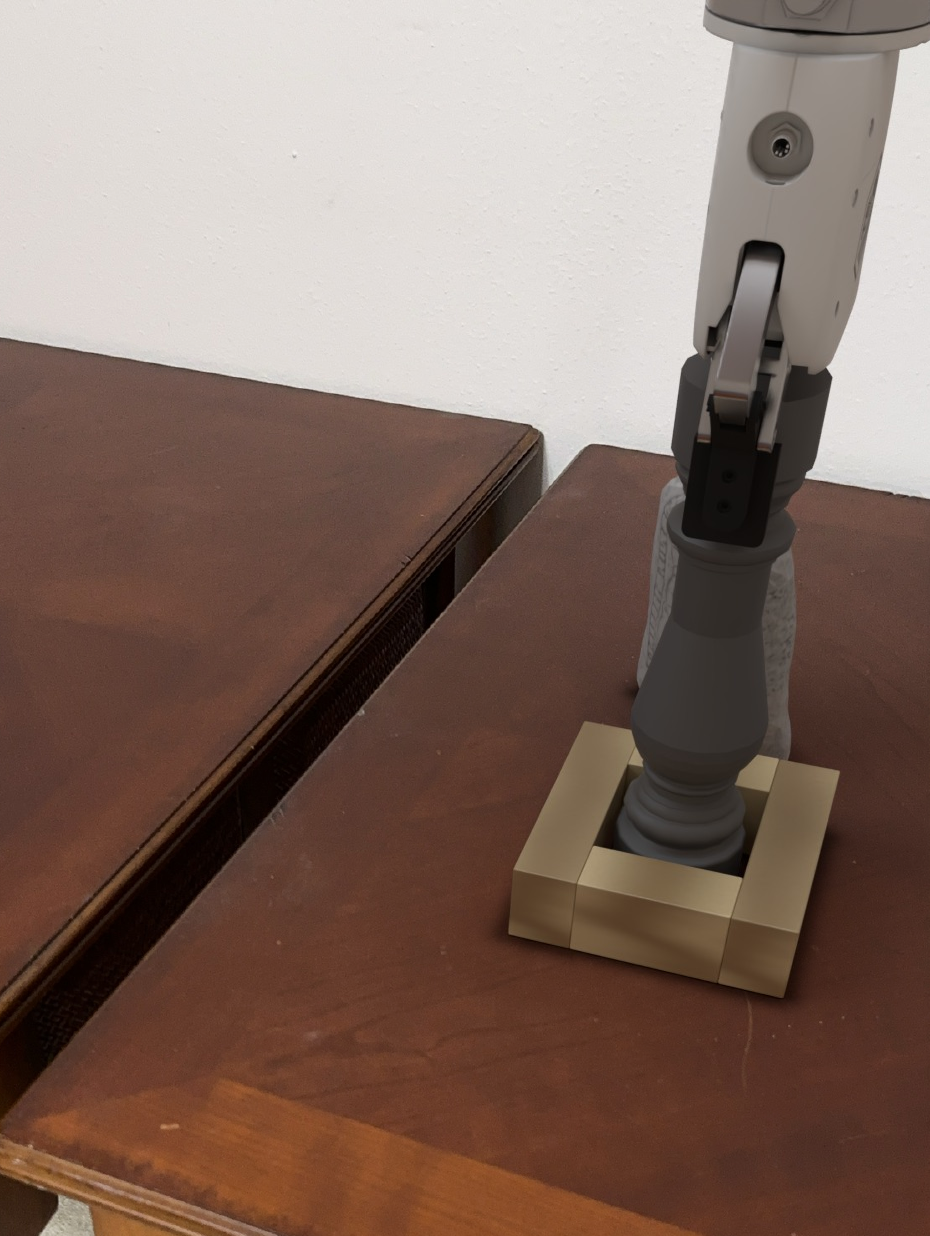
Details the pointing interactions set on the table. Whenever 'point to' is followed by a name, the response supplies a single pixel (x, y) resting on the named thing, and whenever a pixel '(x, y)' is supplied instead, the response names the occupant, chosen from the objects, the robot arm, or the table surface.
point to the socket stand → (672, 872)
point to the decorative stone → (774, 622)
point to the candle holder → (713, 652)
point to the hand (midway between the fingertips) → (737, 500)
